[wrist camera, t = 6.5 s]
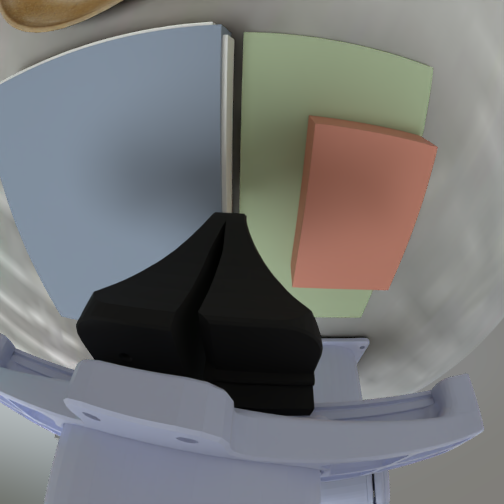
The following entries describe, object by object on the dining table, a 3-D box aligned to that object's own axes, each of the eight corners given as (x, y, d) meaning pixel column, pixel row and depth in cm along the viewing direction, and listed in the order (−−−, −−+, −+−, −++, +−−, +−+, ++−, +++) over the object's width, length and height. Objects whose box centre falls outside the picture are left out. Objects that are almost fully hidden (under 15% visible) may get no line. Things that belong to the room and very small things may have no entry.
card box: (292, 287, 16) (290, 263, 17) (388, 290, 16) (379, 267, 17) (315, 123, 10) (308, 114, 12) (437, 147, 10) (418, 134, 12)
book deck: (233, 309, 21) (229, 341, 19) (75, 291, 21) (61, 316, 19) (235, 29, 10) (227, 19, 7) (17, 79, 10) (-16, 90, 8)
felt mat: (359, 313, 21) (360, 317, 20) (239, 309, 21) (238, 313, 21) (429, 67, 10) (433, 67, 9) (244, 33, 10) (243, 32, 10)
